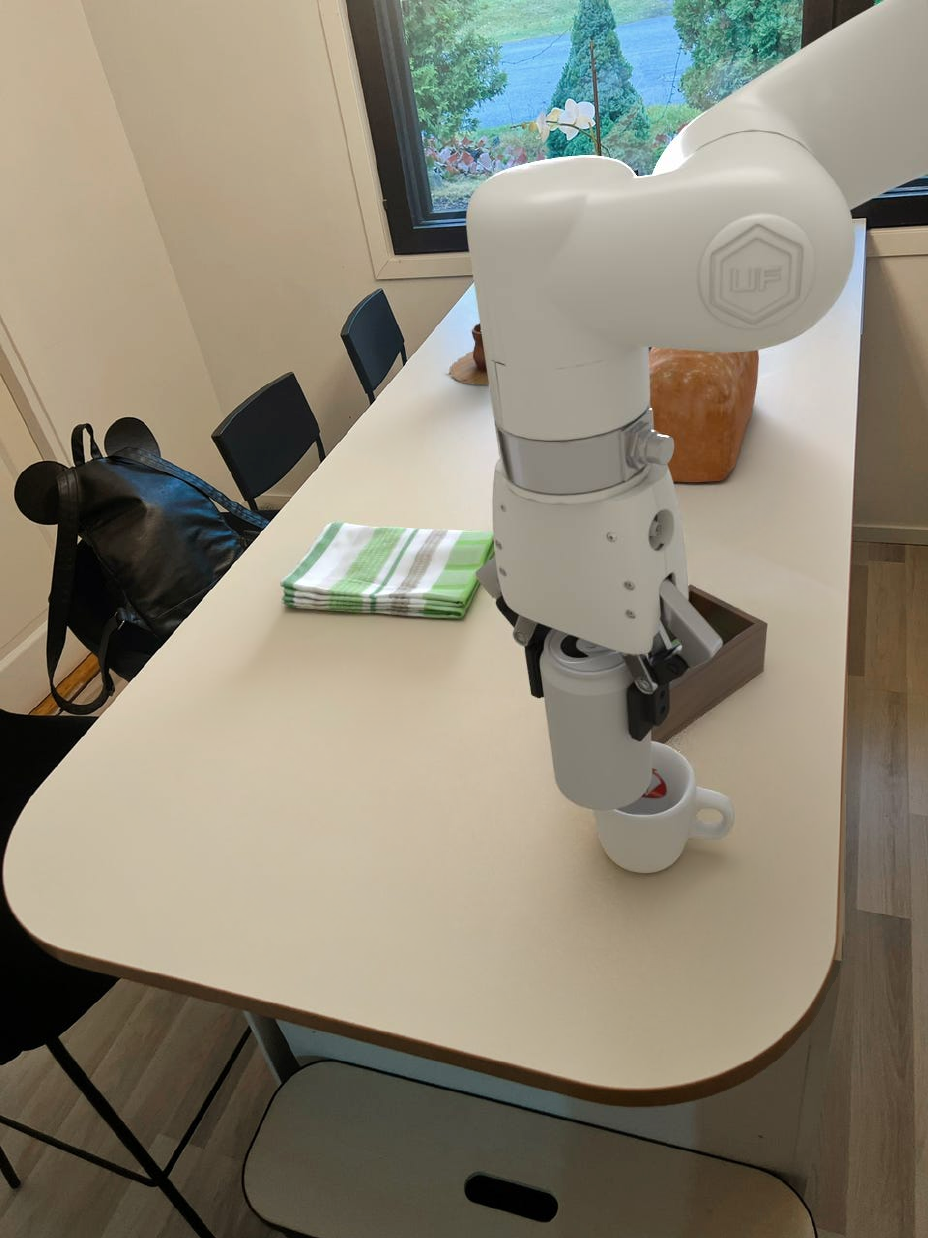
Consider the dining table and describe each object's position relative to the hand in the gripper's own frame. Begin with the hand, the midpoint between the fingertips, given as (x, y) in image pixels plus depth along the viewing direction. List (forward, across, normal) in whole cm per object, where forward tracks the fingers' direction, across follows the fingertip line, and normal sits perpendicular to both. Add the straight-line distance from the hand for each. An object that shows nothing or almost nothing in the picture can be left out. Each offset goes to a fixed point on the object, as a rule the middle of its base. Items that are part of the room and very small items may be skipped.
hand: (597, 702), depth 54 cm
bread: (+21, +30, -70) cm, 79 cm away
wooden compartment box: (+21, +8, -22) cm, 31 cm away
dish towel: (+20, +46, -24) cm, 56 cm away
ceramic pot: (+20, +74, -81) cm, 112 cm away
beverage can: (+7, 0, 0) cm, 7 cm away
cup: (+21, 0, -6) cm, 22 cm away
